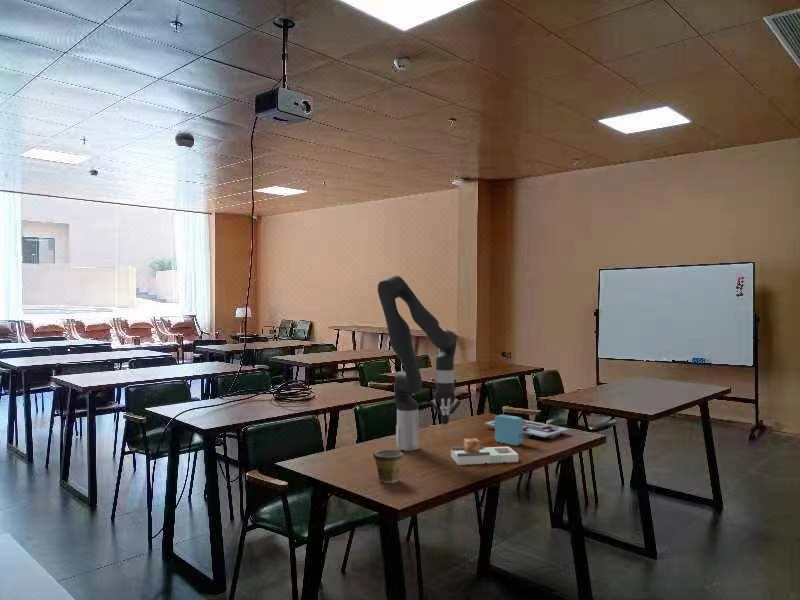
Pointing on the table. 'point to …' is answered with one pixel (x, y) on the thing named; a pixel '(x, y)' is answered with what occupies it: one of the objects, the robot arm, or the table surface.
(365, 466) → the table surface
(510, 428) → the blue square slab
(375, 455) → the ceramic cup
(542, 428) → the maze game
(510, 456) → the tray
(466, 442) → the terracotta cube
